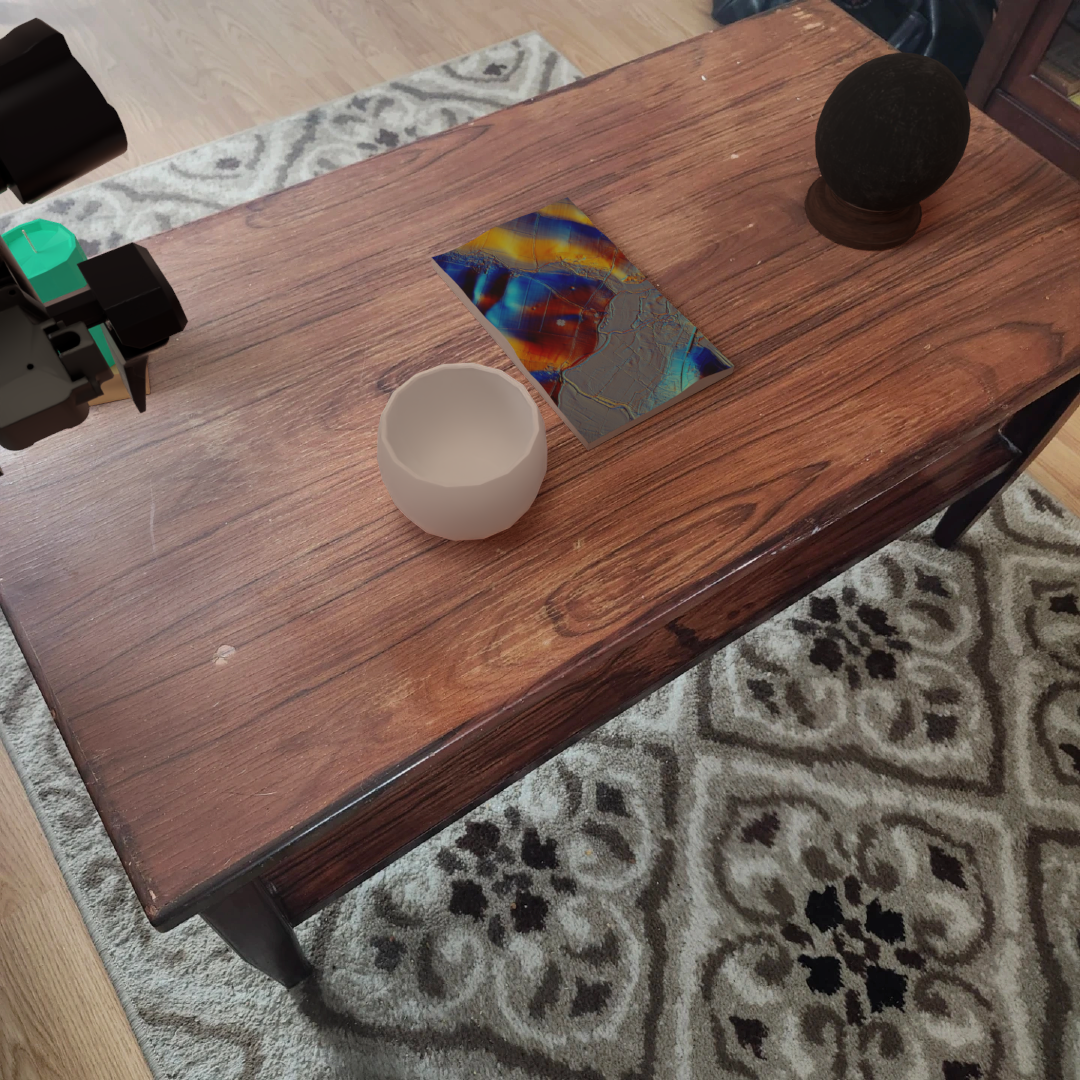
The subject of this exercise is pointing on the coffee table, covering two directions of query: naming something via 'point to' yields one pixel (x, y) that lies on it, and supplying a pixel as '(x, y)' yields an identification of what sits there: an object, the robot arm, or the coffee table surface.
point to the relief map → (580, 321)
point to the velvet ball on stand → (886, 149)
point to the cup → (462, 450)
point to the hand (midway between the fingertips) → (71, 439)
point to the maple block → (115, 388)
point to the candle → (52, 264)
